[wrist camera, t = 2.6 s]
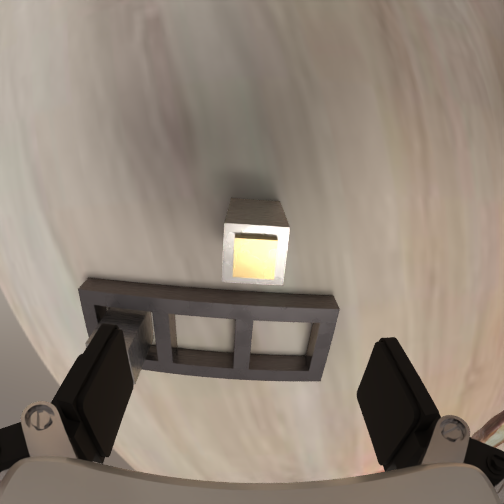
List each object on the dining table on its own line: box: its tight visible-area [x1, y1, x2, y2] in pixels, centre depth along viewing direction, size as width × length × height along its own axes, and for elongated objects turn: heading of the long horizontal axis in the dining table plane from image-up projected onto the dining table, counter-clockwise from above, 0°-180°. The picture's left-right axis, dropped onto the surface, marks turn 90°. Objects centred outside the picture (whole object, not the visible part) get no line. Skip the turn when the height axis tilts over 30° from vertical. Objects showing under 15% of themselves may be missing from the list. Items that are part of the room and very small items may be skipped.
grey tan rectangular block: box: [86, 307, 154, 384], centre depth 27 cm, size 4×4×8 cm
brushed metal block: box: [222, 198, 290, 286], centre depth 23 cm, size 4×4×8 cm
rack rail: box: [78, 278, 339, 381], centre depth 29 cm, size 24×9×2 cm, turn 86°
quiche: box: [471, 411, 504, 448], centre depth 42 cm, size 21×20×4 cm
